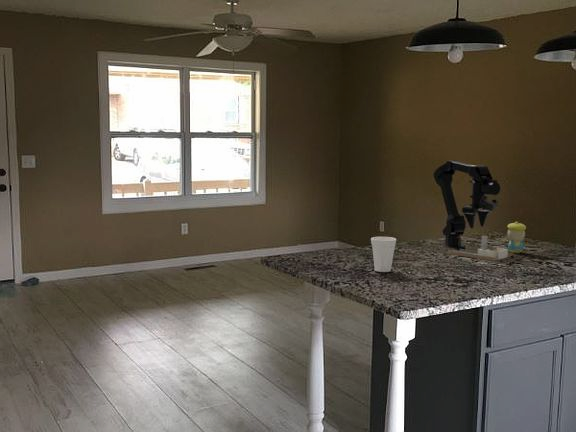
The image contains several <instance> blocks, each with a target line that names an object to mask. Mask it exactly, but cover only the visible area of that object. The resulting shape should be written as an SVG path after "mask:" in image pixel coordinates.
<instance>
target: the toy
mask: <svg viewBox="0 0 576 432" xmlns="http://www.w3.org/2000/svg"><path fill="white" fill-rule="evenodd" d="M507 228H508V229H507V238H508V239H509V242H508V244H507V249H508V252H509V253H511V254H520V253H521V252H522V251H523V249H524V244H523V240H524V239H525V237H526V231H525V230H526V229H527V226H526V225H525V224H523V223H519V222H518V221H514V222H512V223H508V224H507Z"/></svg>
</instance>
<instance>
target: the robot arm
mask: <svg viewBox="0 0 576 432" xmlns="http://www.w3.org/2000/svg"><path fill="white" fill-rule="evenodd" d="M456 171H458V172H462V173H465V174H467V175H468V176H469V177H471V179H470V180H469V181H468V182H469V183H471V184H472V187H471V194H470V196H469V198H470V199H471V203H470V204H469V205H464V206H463V207H461V213H463V214H462V215H461V214H459V211H458V206H457V203H456V198H455V195H454V192H453V187H452V183H453V177H454V175H455V174H456ZM433 178H434V181H435V183H436V184H437V185H438V187H439V188H440V190H441V191H440V192H441V194H442V197H443V202H444V205H445V209H446V213H447V217H446V221H445V223H446V225H445V226H444V228H442V235H444V236H445V243H444V245H445V246H446V247H449V248H461V247H462V238H461V235H462V236H463V235H464V233H465V230H466V226H467V223H468V226H469V228H470V229H474V228H475V227H474V226H475V222H476V221H475V219H476V217H477V216H478V221H479V224H480V227H484V225H485V223H486V220H487V217H488V215H490V214H491V213H492V212H494V211H496V209H497V208H498V207H499V201H498V199H496V198H493V199H492V200H491V199H489V198H488V195H490V196H497V195H499V193H500V192H501V185H500V184H499V183H498V179H494V178H493V176H492V174H491V172H490V170H489V167H488V166H487V165H484V164H483V165H481V164H478V165H477V164H476V165H474V164H470V163H466V162H461V161H458V160H452V159H451V160H447V161H446V162H445V163H444V164H442V165H440V166H438V168H436V169H435V170H434V173H433ZM465 219H466V220H465ZM466 221H467V222H466Z"/></svg>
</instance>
